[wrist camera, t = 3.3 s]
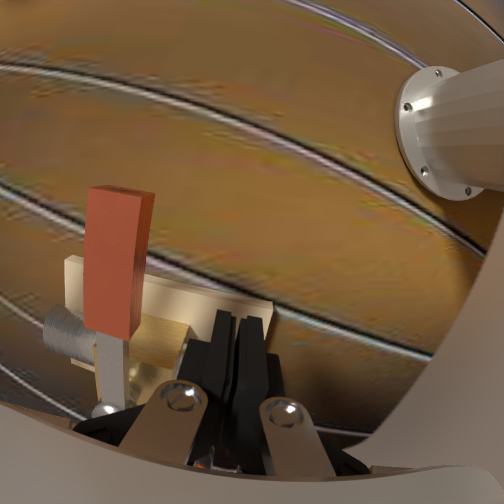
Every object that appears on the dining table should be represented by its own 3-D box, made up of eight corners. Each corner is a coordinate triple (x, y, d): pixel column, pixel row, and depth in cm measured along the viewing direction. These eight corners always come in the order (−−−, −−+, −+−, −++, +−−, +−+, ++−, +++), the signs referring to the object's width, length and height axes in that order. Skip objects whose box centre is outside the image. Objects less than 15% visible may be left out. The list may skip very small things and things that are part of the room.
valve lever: (143, 428, 18) (137, 446, 16) (102, 415, 17) (94, 431, 16) (161, 194, 13) (148, 198, 12) (102, 183, 13) (83, 186, 11)
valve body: (264, 340, 25) (268, 410, 17) (249, 390, 27) (248, 459, 18) (65, 289, 24) (11, 331, 16) (68, 341, 26) (25, 389, 17)
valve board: (272, 301, 26) (273, 309, 24) (243, 400, 29) (243, 410, 27) (72, 254, 25) (64, 259, 23) (77, 355, 28) (71, 363, 26)
